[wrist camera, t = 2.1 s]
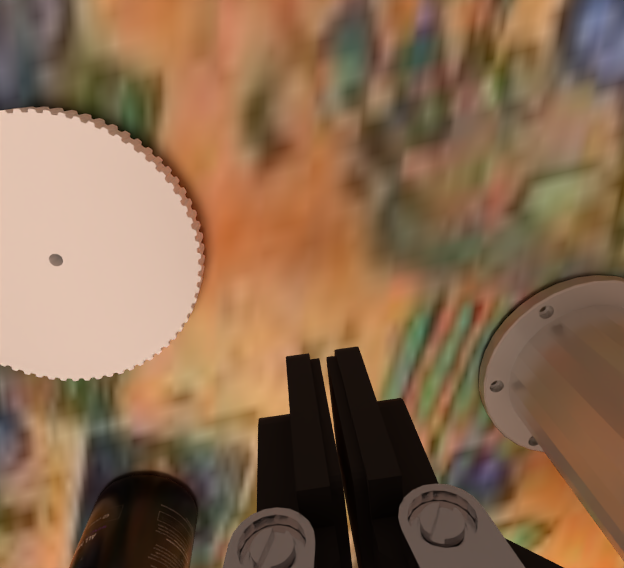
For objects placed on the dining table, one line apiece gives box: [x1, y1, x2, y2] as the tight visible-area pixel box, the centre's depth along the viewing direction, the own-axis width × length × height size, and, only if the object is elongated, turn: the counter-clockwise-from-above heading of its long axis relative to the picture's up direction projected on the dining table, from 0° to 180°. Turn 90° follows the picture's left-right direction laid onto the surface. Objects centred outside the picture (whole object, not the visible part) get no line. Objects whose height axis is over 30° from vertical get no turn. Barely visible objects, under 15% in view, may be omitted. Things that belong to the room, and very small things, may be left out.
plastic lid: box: [0, 107, 205, 381], centre depth 26 cm, size 14×14×2 cm
